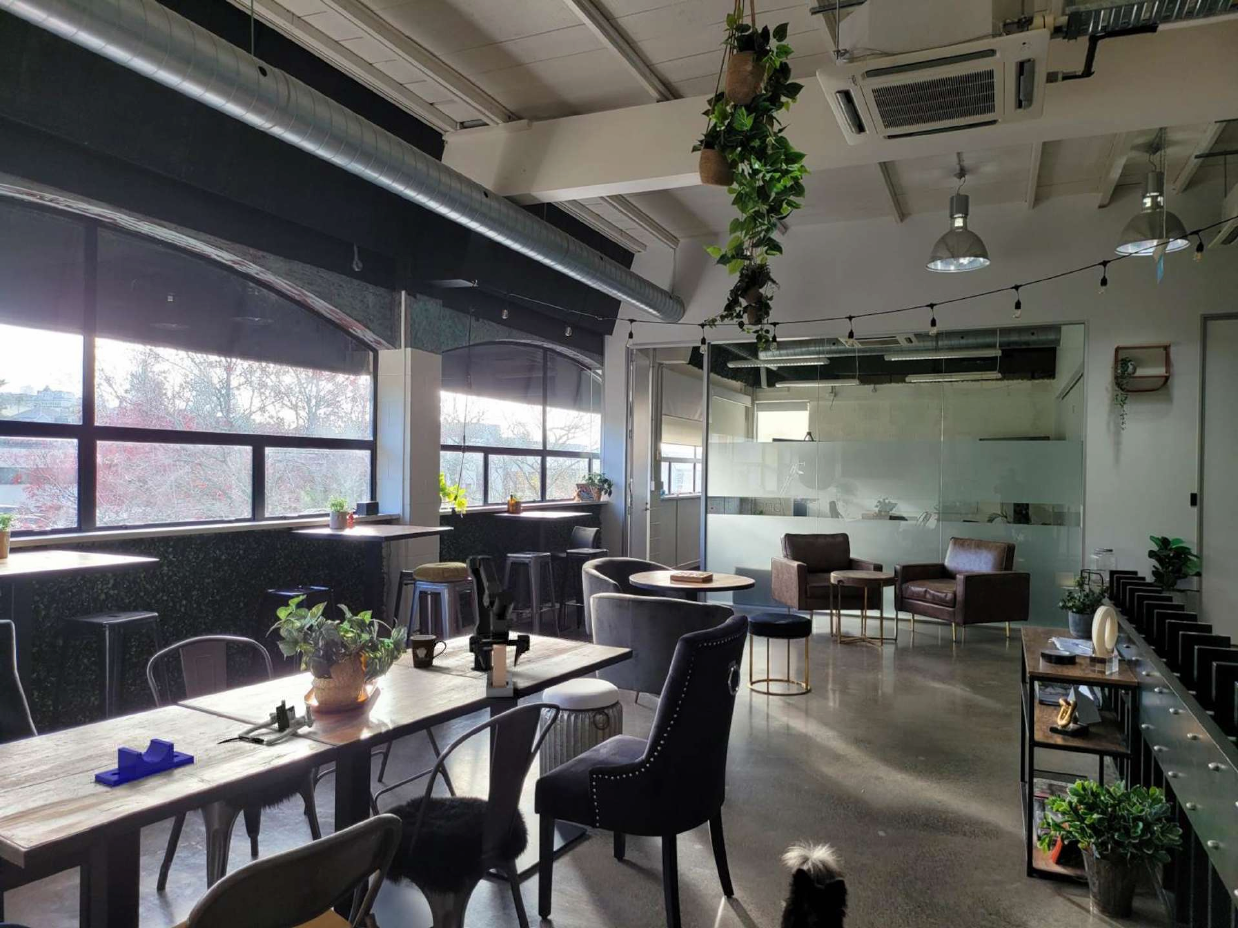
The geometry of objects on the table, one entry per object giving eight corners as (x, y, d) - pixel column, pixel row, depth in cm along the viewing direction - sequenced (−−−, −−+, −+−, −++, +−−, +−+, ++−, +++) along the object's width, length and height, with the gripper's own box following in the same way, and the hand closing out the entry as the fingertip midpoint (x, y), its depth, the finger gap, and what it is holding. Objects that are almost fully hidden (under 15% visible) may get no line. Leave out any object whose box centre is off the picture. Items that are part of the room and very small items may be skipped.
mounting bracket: (113, 788, 175) (113, 760, 175) (94, 782, 179) (95, 754, 179) (194, 763, 191) (194, 737, 191) (175, 758, 195) (175, 732, 195)
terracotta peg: (493, 690, 256) (493, 644, 256) (506, 689, 256) (506, 644, 257) (492, 693, 252) (493, 647, 252) (506, 693, 252) (506, 646, 253)
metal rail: (487, 681, 267) (487, 673, 267) (512, 680, 268) (512, 672, 269) (486, 697, 248) (486, 688, 248) (513, 696, 249) (513, 687, 249)
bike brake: (284, 720, 222) (217, 753, 204) (281, 695, 221) (214, 727, 203) (320, 728, 215) (255, 763, 198) (318, 703, 214) (251, 736, 197)
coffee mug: (405, 667, 286) (405, 638, 287) (420, 662, 294) (420, 634, 295) (433, 670, 282) (433, 641, 282) (447, 665, 290) (448, 636, 290)
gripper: (469, 609, 257) (467, 652, 246) (529, 608, 260) (531, 651, 249) (470, 630, 265) (468, 673, 254) (529, 629, 267) (530, 671, 256)
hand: (499, 666), depth 253 cm, fingers open, 9 cm apart
